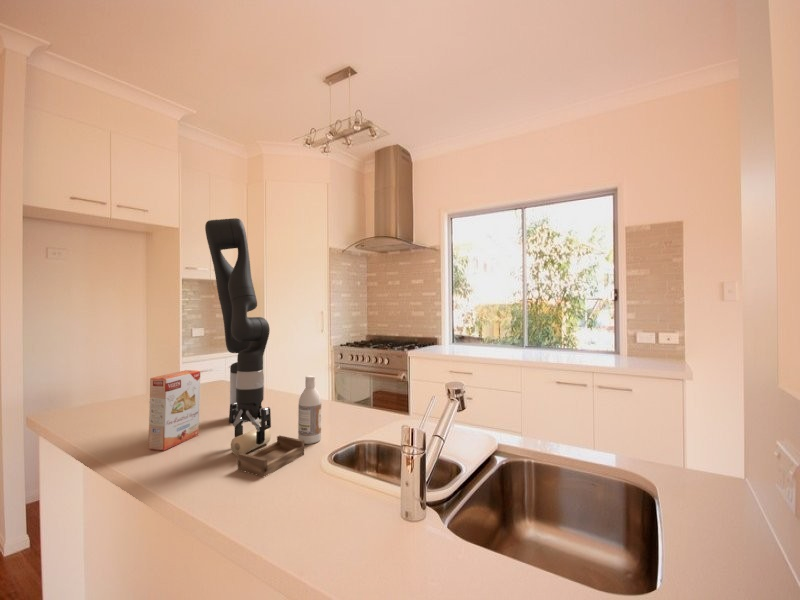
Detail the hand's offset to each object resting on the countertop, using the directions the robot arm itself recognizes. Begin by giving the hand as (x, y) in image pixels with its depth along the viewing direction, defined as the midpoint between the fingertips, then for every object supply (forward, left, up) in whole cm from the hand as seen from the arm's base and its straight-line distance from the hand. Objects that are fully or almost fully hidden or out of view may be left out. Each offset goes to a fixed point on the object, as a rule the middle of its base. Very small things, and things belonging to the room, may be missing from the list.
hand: (249, 441), depth 109 cm
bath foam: (-14, +11, -3) cm, 18 cm away
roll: (-1, 0, -3) cm, 3 cm away
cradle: (+3, +12, -2) cm, 13 cm away
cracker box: (+5, -25, -3) cm, 26 cm away
